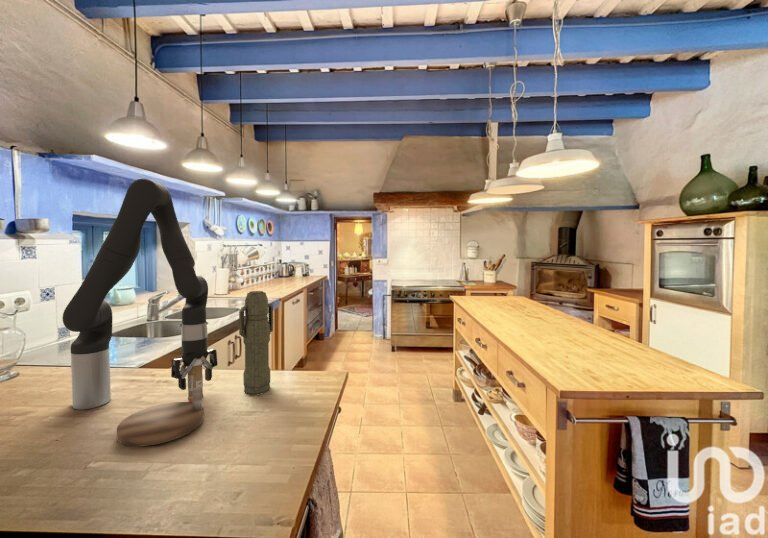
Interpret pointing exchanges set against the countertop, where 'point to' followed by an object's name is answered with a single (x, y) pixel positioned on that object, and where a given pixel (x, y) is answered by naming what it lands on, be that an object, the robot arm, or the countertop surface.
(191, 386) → the sprinkles bottle
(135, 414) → the turntable
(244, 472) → the countertop surface
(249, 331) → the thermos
